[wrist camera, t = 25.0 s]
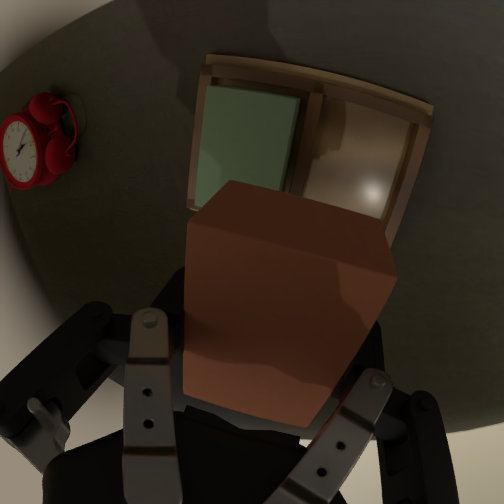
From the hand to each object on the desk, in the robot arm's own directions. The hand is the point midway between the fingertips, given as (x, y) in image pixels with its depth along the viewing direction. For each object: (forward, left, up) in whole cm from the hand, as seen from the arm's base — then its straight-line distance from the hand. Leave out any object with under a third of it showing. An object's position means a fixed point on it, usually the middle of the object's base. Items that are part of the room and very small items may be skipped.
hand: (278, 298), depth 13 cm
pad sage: (-3, -5, -14) cm, 15 cm away
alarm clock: (-1, -30, -15) cm, 33 cm away
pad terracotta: (0, 0, -1) cm, 1 cm away
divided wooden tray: (-3, -1, -15) cm, 15 cm away
